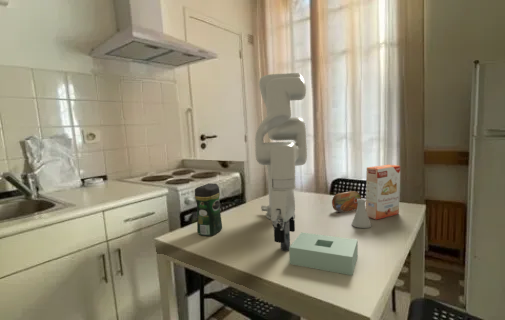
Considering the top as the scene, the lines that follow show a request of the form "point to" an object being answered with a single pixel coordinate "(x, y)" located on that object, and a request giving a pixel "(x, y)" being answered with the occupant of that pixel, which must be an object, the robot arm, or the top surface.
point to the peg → (286, 237)
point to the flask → (361, 216)
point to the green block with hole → (324, 253)
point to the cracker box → (382, 191)
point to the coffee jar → (208, 209)
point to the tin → (345, 201)
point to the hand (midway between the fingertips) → (285, 236)
